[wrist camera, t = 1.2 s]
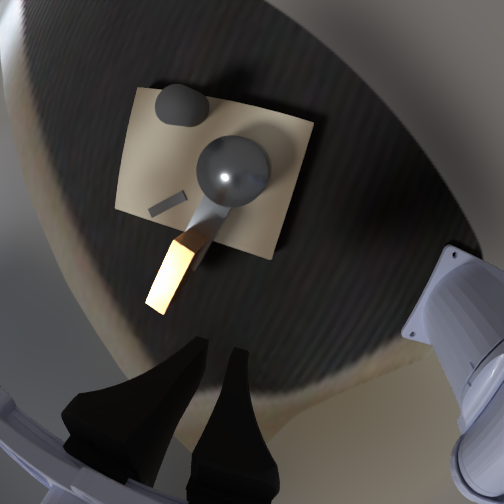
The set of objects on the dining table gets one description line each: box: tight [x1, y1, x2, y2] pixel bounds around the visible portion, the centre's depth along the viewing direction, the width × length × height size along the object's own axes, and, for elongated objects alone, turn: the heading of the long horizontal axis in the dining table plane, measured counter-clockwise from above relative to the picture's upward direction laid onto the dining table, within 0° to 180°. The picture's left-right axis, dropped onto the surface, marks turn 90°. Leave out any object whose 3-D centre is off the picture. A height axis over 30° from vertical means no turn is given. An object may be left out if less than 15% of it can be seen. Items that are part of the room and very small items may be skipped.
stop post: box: [155, 84, 210, 127], centre depth 15 cm, size 2×2×3 cm
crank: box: [146, 135, 272, 315], centre depth 17 cm, size 12×4×3 cm, turn 150°
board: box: [115, 87, 314, 260], centre depth 18 cm, size 12×9×1 cm
